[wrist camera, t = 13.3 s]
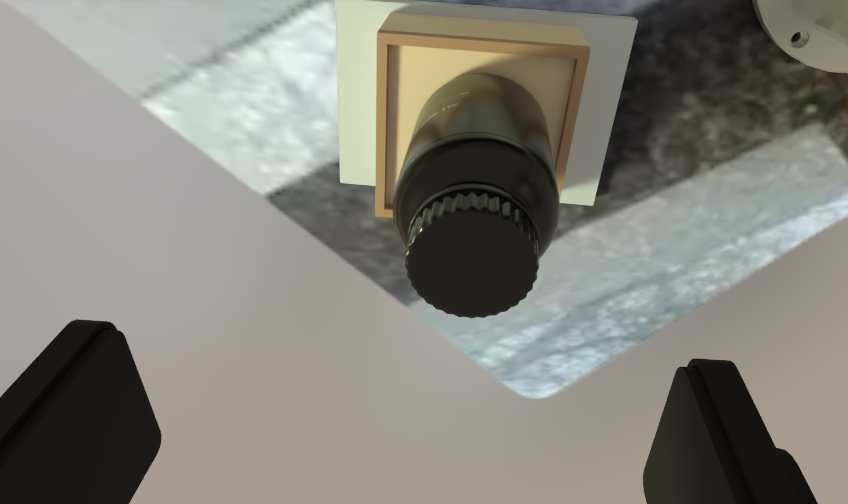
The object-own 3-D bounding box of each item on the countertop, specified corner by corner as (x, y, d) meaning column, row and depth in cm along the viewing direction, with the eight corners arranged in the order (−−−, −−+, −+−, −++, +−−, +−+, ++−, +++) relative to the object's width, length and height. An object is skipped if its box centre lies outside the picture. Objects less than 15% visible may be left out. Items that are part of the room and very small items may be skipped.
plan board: (634, 16, 31) (659, 43, 27) (590, 198, 37) (605, 245, 33) (338, -6, 32) (313, 16, 27) (343, 175, 38) (323, 218, 34)
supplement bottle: (428, 55, 29) (394, 157, 19) (564, 86, 29) (603, 203, 19) (404, 179, 32) (364, 318, 22) (524, 205, 33) (538, 356, 23)
